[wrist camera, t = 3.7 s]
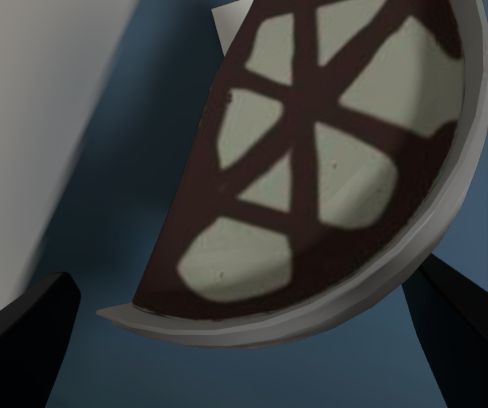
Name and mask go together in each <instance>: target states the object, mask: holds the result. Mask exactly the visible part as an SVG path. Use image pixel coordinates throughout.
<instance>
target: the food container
mask: <svg viewBox="0 0 488 408" xmlns="http://www.w3.org/2000/svg"><path fill="white" fill-rule="evenodd" d="M487 127H488V23H487V19H486V15H485V11H484V7H483V3H482V0H253V2H252V5H251V7H250V9H249V11H248V13H247V15H246V17H245V18H244V20H243V22H242V24H241V26H240V28H239V30H238V32H237V33H236V35H235V37H234V39H233V41H232V43H231V45H230V47H229V48H228V51H227V53H226V55H225V57H224V59H223V61H222V63H221V65H220V67H219V69H218V71H217V73H216V75H215V77H214V80H213V82H212V84H211V88H210V90H209V93H208V96H207V99H206V102H205V105H204V108H203V111H202V114H201V117H200V120H199V124H198V127H197V130H196V134H195V137H194V140H193V144H192V147H191V150H190V153H189V156H188V159H187V162H186V165H185V168H184V171H183V174H182V177H181V180H180V183H179V186H178V189H177V192H176V194H175V197H174V199H173V202H172V204H171V207H170V209H169V212H168V214H167V217H166V219H165V222H164V224H163V227H162V229H161V232H160V234H159V237H158V239H157V242H156V244H155V247H154V249H153V252H152V254H151V257H150V259H149V262H148V264H147V266H146V269H145V271H144V274H143V276H142V279H141V281H140V284H139V286H138V288H137V291H136V293H135V296H134V298H133V301H132V302H130V303H126V304H122V305H117V306H113V307H108V308H104V309H99V310H97V312H96V314H97V315H100V316H102V317H105V318H107V319H110V320H112V322H111V324H114V325H116V326H118V327H121V328H123V329H126V330H128V331H131V332H133V333H136V334H138V335H141V336H143V337H147V338H152V339H157V340H162V341H167V342H171V343H176V344H181V345H187V346H194V347H201V348H208V349H256V348H262V347H268V346H275V345H281V344H288V343H292V342H295V341H298V340H301V339H304V338H307V337H310V336H313V335H316V334H319V333H322V332H325V331H328V330H330V329H333V328H335V327H337V326H339V325H340V324H342V323H344V322H346V321H348V320H350V319H351V318H353V317H355V316H357V315H359V314H361V313H362V312H364V311H366V310H368V309H370V308H372V307H373V306H374V305H375V304H377V303H378V302H379V301H381V300H382V299H383V298H384V297H386V296H387V295H388V294H389V293H391V292H392V291H393V290H394V289H396V288H397V287H398V286H399V285H401V284H402V283H403V282H405V281H406V280H407V279H408V278H409V277H410V276H411V275H412V274H413V273H414V271H415V270H416V269H417V268H418V267H419V266H420V265H421V264H422V262H423V261H424V260H425V259H426V258H427V257H428V256H429V254H430V253H431V252H432V251H433V250H434V249H435V248H436V247H437V245H438V244H439V243H440V241H441V239H442V238H443V236H444V234H445V233H446V231H447V229H448V228H449V226H450V224H451V223H452V221H453V220H454V218H455V216H456V215H457V213H458V211H459V210H460V208H461V206H462V204H463V201H464V198H465V196H466V193H467V190H468V188H469V185H470V182H471V180H472V177H473V175H474V172H475V169H476V167H477V163H478V160H479V157H480V154H481V151H482V148H483V145H484V142H485V138H486V133H487Z"/></svg>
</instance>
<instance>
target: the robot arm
mask: <svg viewBox="0 0 488 408" xmlns="http://www.w3.org/2000/svg"><path fill="white" fill-rule="evenodd" d="M402 288H403V291H404V294H405V298H406V301H407V304H408V308H409V311H410V315H411V318H412V321H413V325H414V328H415V331H416V334H417V337H418V339H419V342H420V344H421V347H422V349H423V351H424V354H425V356H426V358H427V361H428V363H429V365H430V368H431V370H432V372H433V375H434V377H435V379H436V382H437V384H438V386H439V389H440V391H441V393H442V396H443V398H444V400H445V403H446V405H447V407H448V408H488V292H487V291H485V290H484V289H483V288H481V287H480V286H478V285H477V284H475V283H474V282H472V281H471V280H470V279H468V278H467V277H465V276H464V275H462V274H461V273H459V272H458V271H457V270H455V269H454V268H452V267H451V266H449V265H448V264H446V263H445V262H444V261H442V260H441V259H439V258H438V257H436V256H435V255H434V254H432V253H430V254H429V256H428V257H427V258H426V259H425V260H424V261H423V262H422V264H421V265H420V266H419V267H418V268H417V269H416V270H415V271H414V273H413V274H412V275H411V276H410V277H409V278H408V279H407V280H406V281H405V282H403V283H402ZM80 300H81V293H80V290H79V288H78V287H77V285H76V283H75V282H74V280H73V278H72V276H71V275H70V274H69V273H68V272H56V273H52V274H50V275H49V276H47V277H46V278H44V279H43V280H42V281H40V282H39V283H38V284H36V285H35V286H33V287H32V288H31V289H29V290H28V291H27V292H25V293H24V294H22V295H21V296H20V297H18V298H17V299H16V300H14V301H13V302H11V303H10V304H9V305H7V306H6V307H5V308H3V309H2V310H0V408H45V406H46V403H47V401H48V398H49V396H50V393H51V390H52V388H53V385H54V383H55V380H56V377H57V375H58V372H59V370H60V367H61V364H62V362H63V359H64V356H65V354H66V351H67V347H68V344H69V341H70V337H71V333H72V330H73V326H74V322H75V319H76V315H77V311H78V308H79V304H80Z"/></svg>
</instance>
